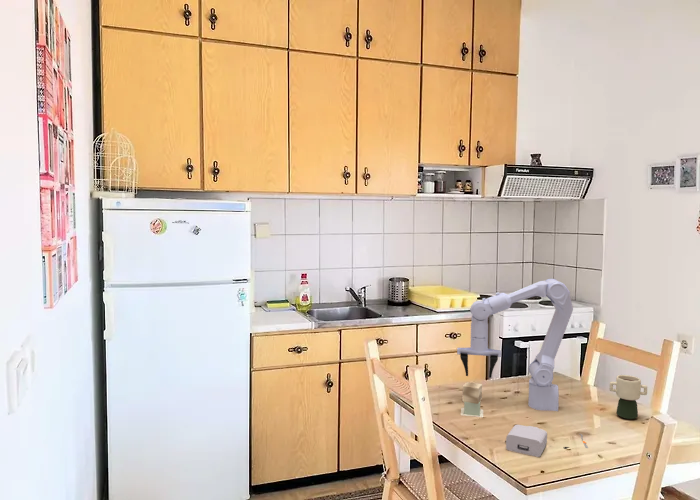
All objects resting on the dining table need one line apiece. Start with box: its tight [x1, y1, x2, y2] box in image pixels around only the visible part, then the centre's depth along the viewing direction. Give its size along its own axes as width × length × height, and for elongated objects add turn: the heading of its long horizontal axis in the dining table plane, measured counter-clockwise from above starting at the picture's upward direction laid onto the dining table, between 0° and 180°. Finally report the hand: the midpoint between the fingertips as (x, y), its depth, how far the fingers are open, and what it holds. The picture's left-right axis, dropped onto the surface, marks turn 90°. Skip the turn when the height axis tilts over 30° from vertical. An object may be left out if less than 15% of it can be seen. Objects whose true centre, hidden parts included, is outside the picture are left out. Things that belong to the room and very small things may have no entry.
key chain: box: [563, 433, 589, 450], centre depth 156 cm, size 13×7×1 cm, turn 161°
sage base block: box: [463, 401, 481, 416], centre depth 176 cm, size 5×5×4 cm
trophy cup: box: [609, 374, 648, 420], centre depth 176 cm, size 11×7×13 cm, turn 69°
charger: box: [505, 424, 548, 458], centre depth 154 cm, size 5×9×15 cm
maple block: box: [461, 381, 483, 404], centre depth 175 cm, size 5×5×5 cm
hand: (478, 376), depth 185 cm, fingers open, 7 cm apart
